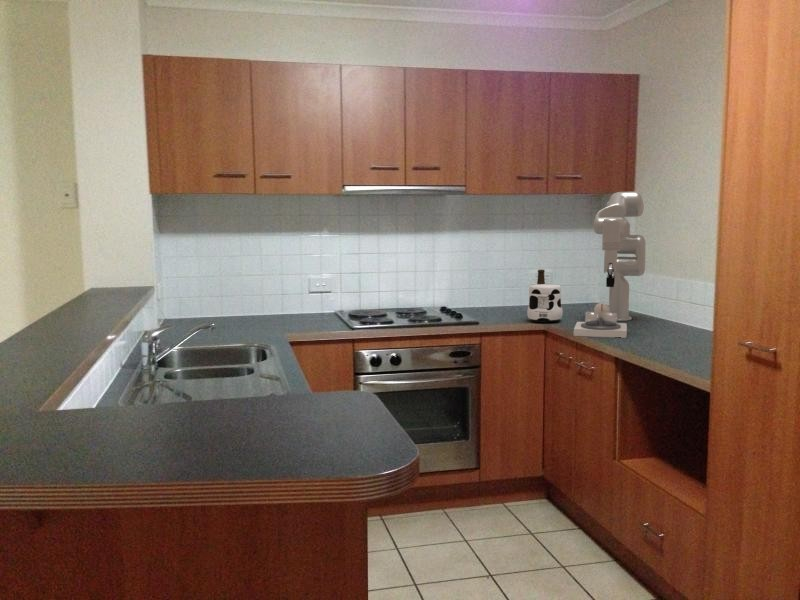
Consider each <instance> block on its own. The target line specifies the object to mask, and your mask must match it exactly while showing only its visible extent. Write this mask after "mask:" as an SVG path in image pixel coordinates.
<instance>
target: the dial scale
mask: <svg viewBox="0 0 800 600" xmlns="http://www.w3.org/2000/svg"><path fill="white" fill-rule="evenodd" d="M593 312H599V325H598V326H589V325H585V321H576V324H575V325H574V328H573V337H589V338H591V337H595V338H615V337H621V338H620V339H626V338H627V336H628V335H627V333H628V332H627V331H628V330H627V326H628V325H627V323H625V322H617V326H603V325H602V322H603V312H610V308H609V304H607V303H605V302H599V303H597V304H596V305H594V308H593Z"/></svg>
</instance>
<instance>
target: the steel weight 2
mask: <svg viewBox="0 0 800 600" xmlns="http://www.w3.org/2000/svg"><path fill="white" fill-rule="evenodd" d="M617 323H618V321H617V313H614V312H603V322H602V325H603V326H617Z"/></svg>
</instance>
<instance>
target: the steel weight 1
mask: <svg viewBox="0 0 800 600" xmlns="http://www.w3.org/2000/svg"><path fill="white" fill-rule="evenodd" d="M584 318H585V321H584V322H585V325H589V326H598V325H599V312H594V311H585V317H584Z"/></svg>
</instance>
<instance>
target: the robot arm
mask: <svg viewBox="0 0 800 600" xmlns="http://www.w3.org/2000/svg"><path fill="white" fill-rule="evenodd" d="M644 208H645V207H644V200H643V195H641V193H639V191H618V192H615V193H612V195H610V197H609V200H608V201H607V202H606V205H605V207H604V208H602V209H600V210H598V212H597V213H596V214H595V216H594V220H593V228H592V229H593V232H594V233H595V234H597V235H602V243H601V244H602V245H601V246H602V247H601V250H602V251H604V255H603V273H604V274H606V281H605V282H606V283H605V284H606V285H605V287H607V288H609V289H608V290H609V293H608V294H609V295H608V306H609V308H610V312H614V313H617V322H625V321H626V322H627V321H631V320H632V319H633V318H632V316H629V313H630V311H629V309H630V306H629V305H630V284H629V282H628V280H627V279H626V278H625V277H640V276H643V275H644V274H645V270H646V239H645V237H644V236H643V235H641V234H631V233H630V232H631V229H630V228H631V224H630V222H629V220H627V218H629V217H630V218H636V217H640V216H642V215H643V214H644ZM618 255H635V256H618Z"/></svg>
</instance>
